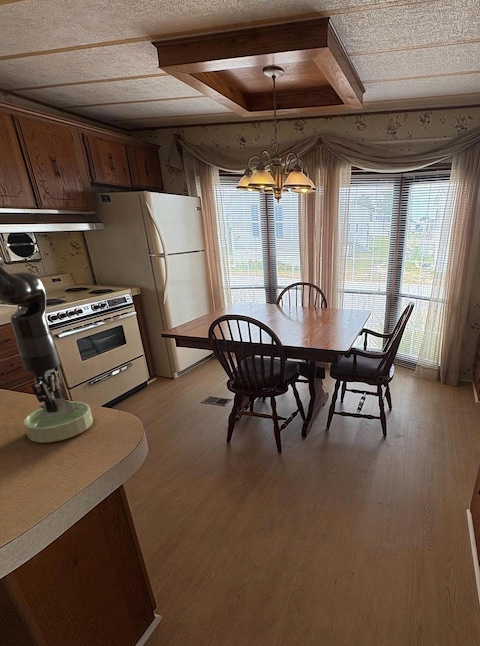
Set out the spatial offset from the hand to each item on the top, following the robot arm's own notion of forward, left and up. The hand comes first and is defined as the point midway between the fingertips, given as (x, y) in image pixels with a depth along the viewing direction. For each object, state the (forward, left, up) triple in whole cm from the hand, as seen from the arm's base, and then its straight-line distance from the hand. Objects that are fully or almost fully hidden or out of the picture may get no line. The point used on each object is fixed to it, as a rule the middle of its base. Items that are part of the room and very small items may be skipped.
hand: (55, 407), depth 97 cm
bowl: (0, 0, -7) cm, 7 cm away
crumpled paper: (0, 0, -3) cm, 3 cm away
